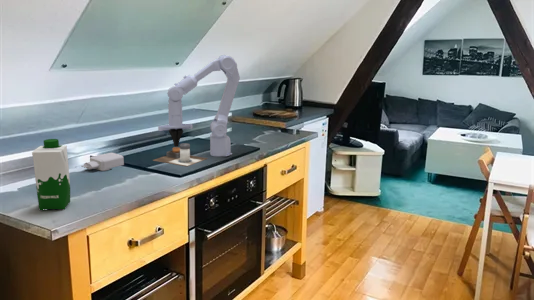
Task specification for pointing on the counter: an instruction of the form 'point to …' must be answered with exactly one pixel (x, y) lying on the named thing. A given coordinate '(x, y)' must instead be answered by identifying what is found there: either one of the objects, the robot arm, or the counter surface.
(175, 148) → the button
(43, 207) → the milk carton
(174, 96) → the robot arm
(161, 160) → the board
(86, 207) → the counter surface
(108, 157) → the charger
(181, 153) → the salt shaker
